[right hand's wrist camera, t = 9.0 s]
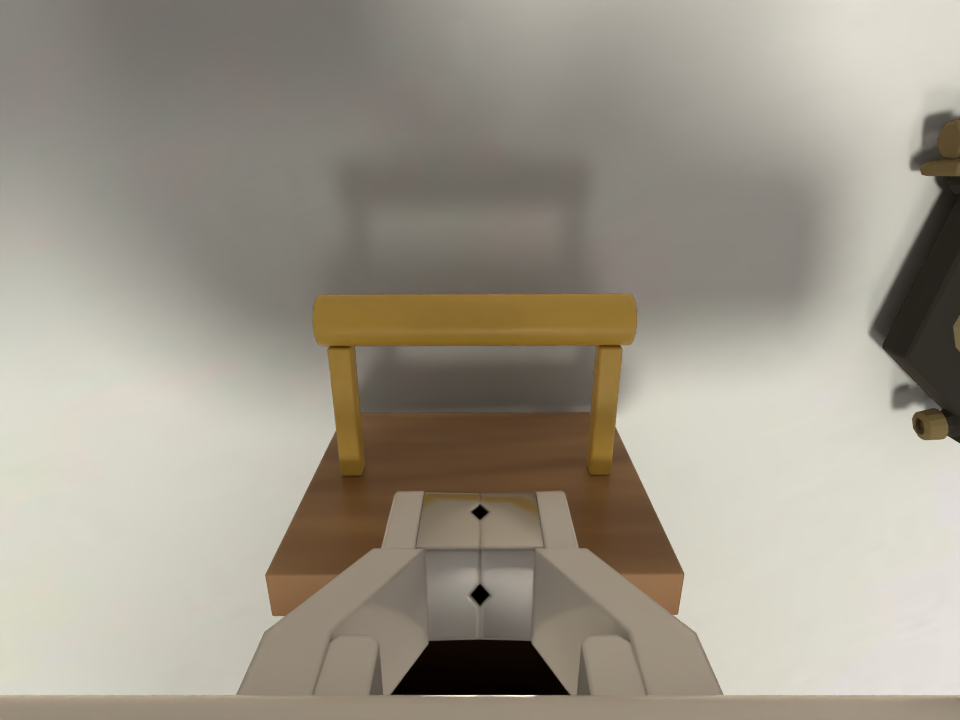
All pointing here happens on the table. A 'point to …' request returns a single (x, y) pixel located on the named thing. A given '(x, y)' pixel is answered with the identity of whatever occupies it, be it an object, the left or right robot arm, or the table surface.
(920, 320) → the spray gun
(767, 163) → the table surface
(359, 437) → the drawer
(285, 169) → the table surface
